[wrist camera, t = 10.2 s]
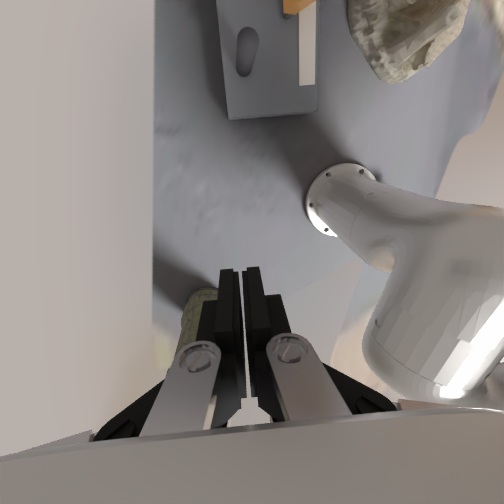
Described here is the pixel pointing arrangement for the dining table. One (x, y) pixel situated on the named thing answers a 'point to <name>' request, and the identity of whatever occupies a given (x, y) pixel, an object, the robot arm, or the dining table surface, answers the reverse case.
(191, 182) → the dining table surface
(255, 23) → the strip
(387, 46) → the beige rock sculpture
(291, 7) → the wooden plank tile
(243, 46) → the dark grey cylinder
